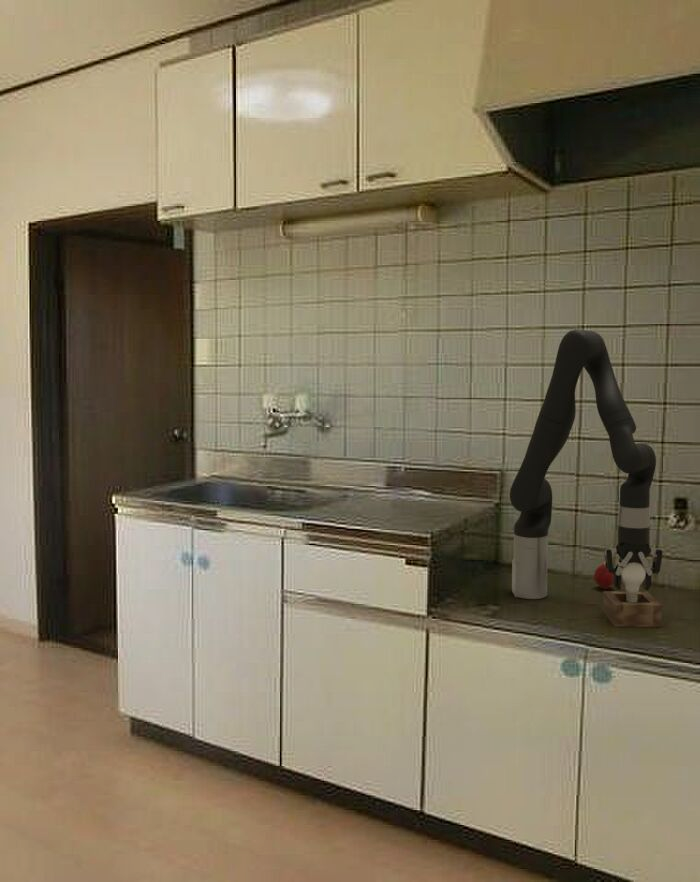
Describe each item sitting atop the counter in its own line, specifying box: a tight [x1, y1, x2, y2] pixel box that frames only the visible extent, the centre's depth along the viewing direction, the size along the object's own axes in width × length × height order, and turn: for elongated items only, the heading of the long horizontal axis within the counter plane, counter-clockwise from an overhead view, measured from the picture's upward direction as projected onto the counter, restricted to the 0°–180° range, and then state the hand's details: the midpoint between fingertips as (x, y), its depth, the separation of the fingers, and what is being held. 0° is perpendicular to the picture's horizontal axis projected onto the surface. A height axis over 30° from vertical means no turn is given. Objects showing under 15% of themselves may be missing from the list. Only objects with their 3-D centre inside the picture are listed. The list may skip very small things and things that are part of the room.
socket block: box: [602, 590, 663, 628], centre depth 198 cm, size 11×11×6 cm
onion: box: [593, 561, 614, 590], centre depth 224 cm, size 6×6×8 cm
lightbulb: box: [620, 562, 646, 602], centre depth 198 cm, size 6×6×11 cm
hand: (632, 588), depth 198 cm, fingers closed on lightbulb, 6 cm apart
